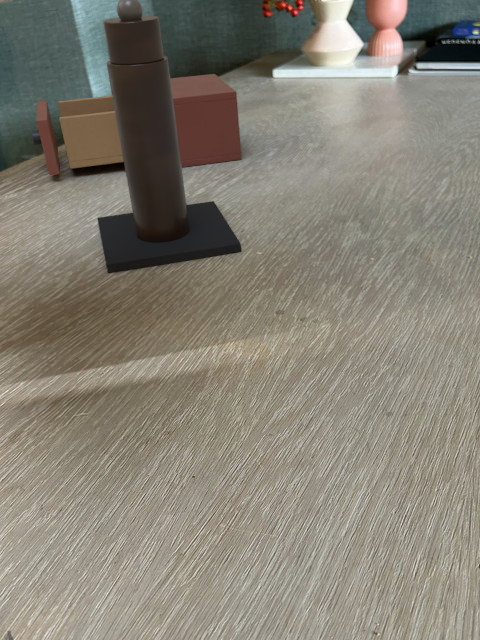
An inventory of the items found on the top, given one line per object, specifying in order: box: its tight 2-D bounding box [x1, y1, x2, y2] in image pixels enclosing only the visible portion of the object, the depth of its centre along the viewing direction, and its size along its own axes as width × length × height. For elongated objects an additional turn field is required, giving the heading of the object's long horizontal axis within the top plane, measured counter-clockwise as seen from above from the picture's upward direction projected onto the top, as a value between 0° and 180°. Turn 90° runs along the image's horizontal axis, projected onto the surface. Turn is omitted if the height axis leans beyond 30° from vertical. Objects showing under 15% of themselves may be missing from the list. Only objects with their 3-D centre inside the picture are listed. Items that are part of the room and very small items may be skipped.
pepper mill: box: [103, 0, 190, 243], centre depth 58 cm, size 5×5×20 cm
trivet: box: [97, 200, 242, 274], centre depth 64 cm, size 12×12×1 cm
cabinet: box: [170, 73, 242, 168], centre depth 86 cm, size 14×13×8 cm
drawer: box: [30, 95, 124, 176], centre depth 84 cm, size 14×11×6 cm
